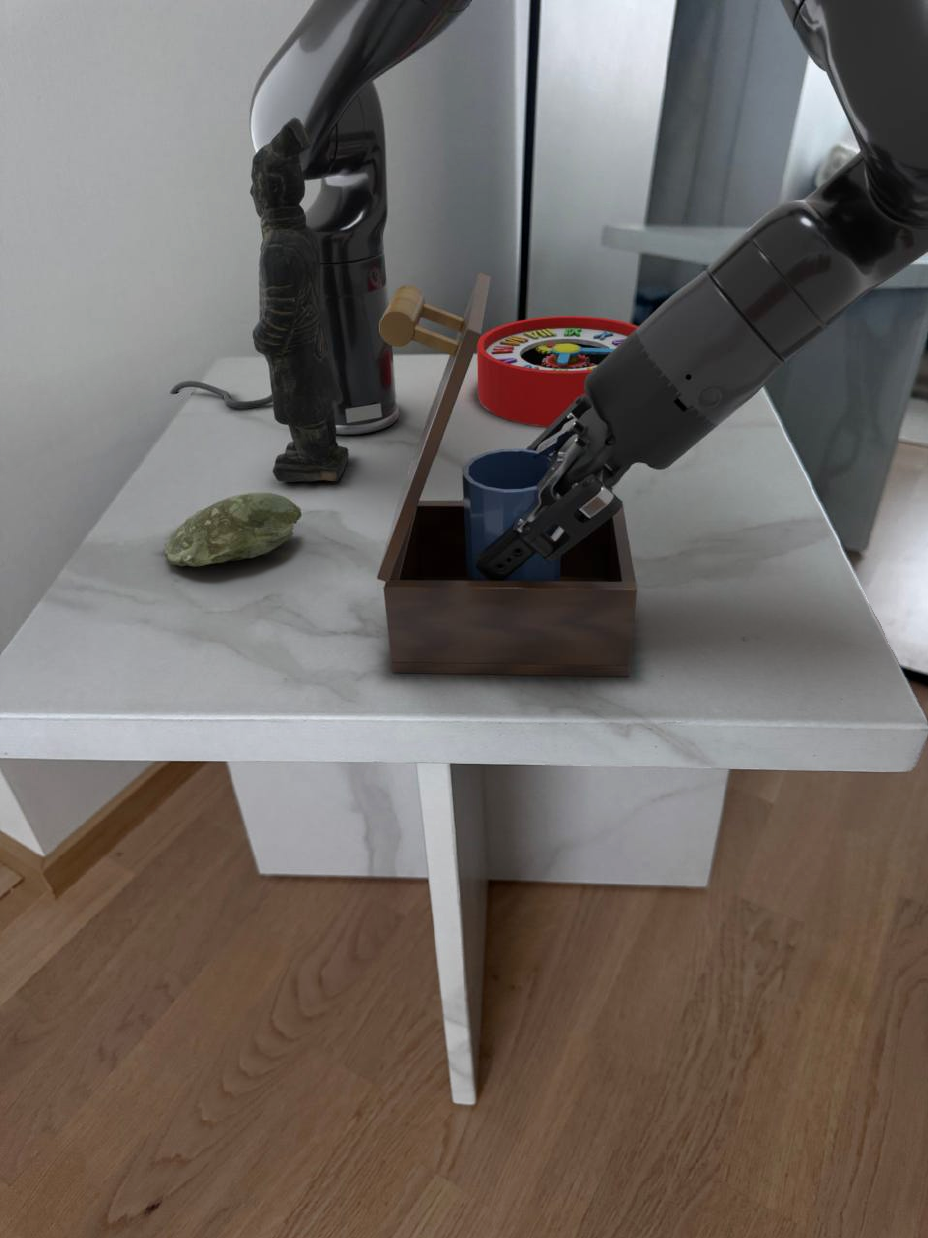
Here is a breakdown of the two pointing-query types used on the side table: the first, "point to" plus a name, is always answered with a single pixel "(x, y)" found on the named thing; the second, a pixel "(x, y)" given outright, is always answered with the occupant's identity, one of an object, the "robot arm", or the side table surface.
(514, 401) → the toy clock
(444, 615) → the box
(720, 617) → the side table surface
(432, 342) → the dish box lid
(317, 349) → the statue
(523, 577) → the cup
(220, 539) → the green rounded rock
